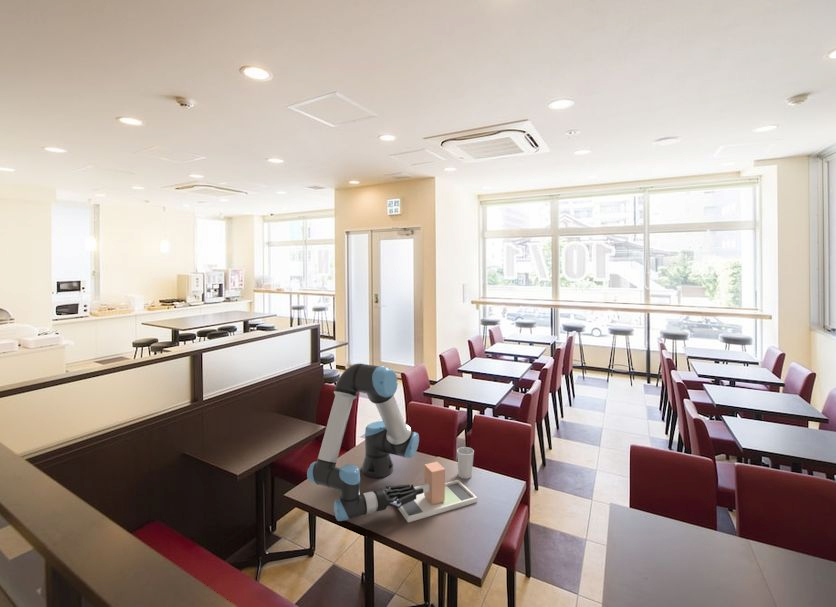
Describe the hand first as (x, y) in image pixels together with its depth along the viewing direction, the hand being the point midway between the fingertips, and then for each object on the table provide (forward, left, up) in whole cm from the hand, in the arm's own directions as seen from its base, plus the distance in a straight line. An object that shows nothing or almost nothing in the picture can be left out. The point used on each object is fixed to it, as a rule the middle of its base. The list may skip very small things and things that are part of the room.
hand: (428, 487), depth 167 cm
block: (-1, +3, -6) cm, 7 cm away
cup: (-14, +27, -8) cm, 31 cm away
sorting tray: (-1, +4, -8) cm, 9 cm away
